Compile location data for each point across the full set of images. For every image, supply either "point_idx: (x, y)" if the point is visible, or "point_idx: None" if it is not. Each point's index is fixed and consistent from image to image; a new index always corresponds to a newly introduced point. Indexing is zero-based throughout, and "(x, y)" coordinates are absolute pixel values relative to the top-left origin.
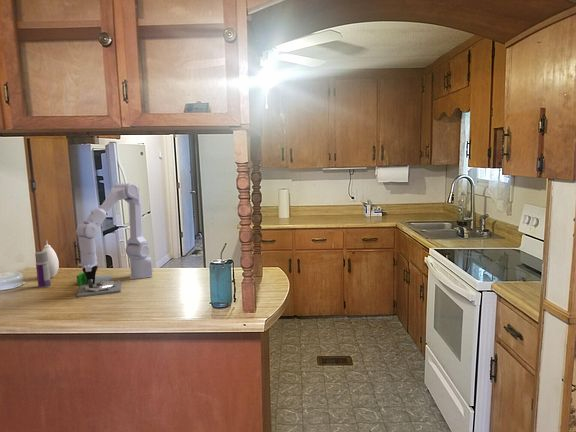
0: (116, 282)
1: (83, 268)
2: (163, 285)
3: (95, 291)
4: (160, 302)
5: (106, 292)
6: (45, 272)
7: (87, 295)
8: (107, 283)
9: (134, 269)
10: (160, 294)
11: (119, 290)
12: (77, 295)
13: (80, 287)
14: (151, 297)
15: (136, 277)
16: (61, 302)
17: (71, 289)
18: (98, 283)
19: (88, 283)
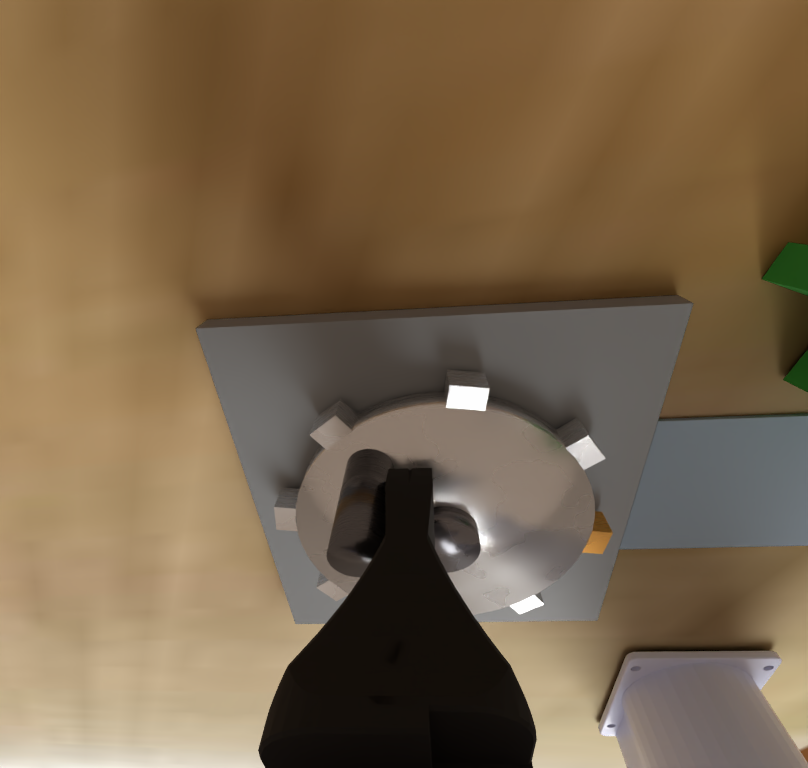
0: (553, 599)
1: (374, 744)
2: None
3: (279, 493)
4: (65, 728)
5: (273, 551)
6: None
7: (233, 419)
8: (464, 580)
9: (679, 765)
10: (201, 733)
11: (294, 618)
12: (198, 335)
13: (566, 317)
14: (151, 709)
15: (628, 684)
16: (16, 154)
17: (635, 176)
18: None
19: (351, 491)
